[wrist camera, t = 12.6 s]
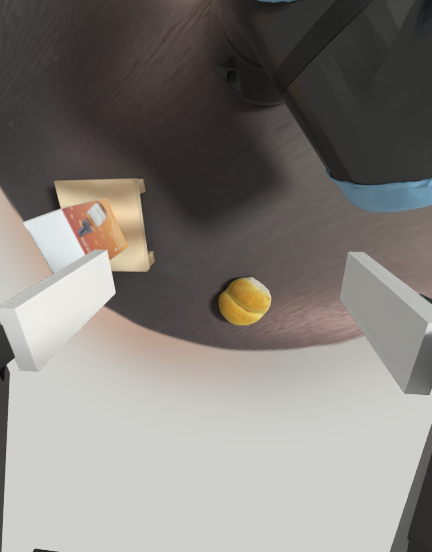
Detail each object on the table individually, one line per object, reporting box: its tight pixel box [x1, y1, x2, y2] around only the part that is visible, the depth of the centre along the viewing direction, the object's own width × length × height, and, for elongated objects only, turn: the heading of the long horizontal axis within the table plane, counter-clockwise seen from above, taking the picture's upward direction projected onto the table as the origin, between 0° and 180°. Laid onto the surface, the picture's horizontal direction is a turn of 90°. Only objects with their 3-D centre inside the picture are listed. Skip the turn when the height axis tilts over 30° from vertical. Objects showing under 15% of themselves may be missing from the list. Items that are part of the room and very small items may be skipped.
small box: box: [23, 198, 129, 274], centre depth 36 cm, size 8×6×10 cm
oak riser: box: [54, 178, 154, 271], centre depth 42 cm, size 14×12×4 cm
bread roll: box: [218, 277, 271, 325], centre depth 46 cm, size 8×9×4 cm
